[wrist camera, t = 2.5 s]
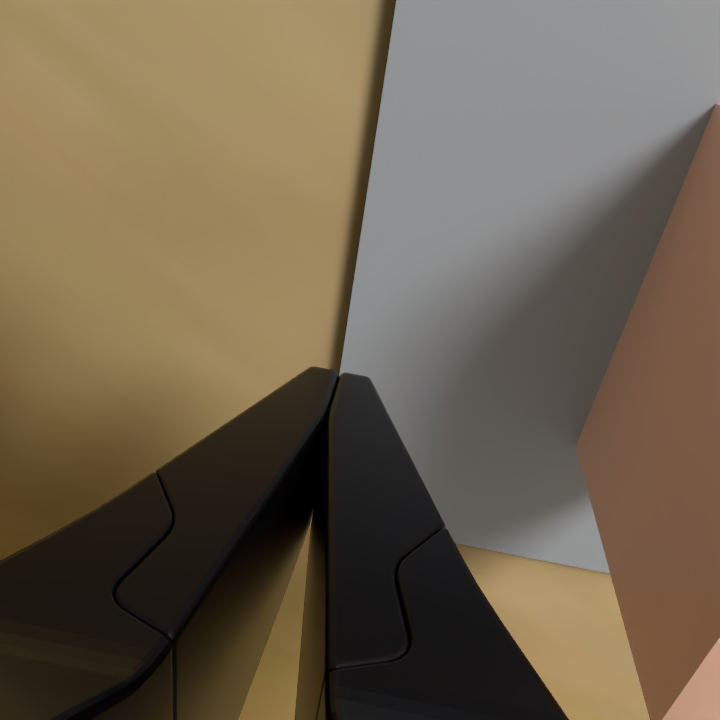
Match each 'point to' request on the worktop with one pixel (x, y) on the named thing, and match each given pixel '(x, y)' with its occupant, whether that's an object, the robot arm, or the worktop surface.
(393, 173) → the mat
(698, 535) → the tile
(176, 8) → the worktop surface
